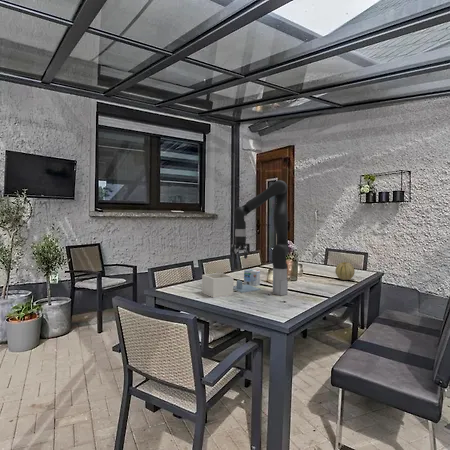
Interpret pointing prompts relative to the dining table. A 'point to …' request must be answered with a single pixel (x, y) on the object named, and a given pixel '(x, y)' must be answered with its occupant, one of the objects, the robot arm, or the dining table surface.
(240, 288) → the lid
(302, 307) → the dining table surface
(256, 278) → the light bulb box
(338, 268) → the cantaloupe
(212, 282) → the tub
